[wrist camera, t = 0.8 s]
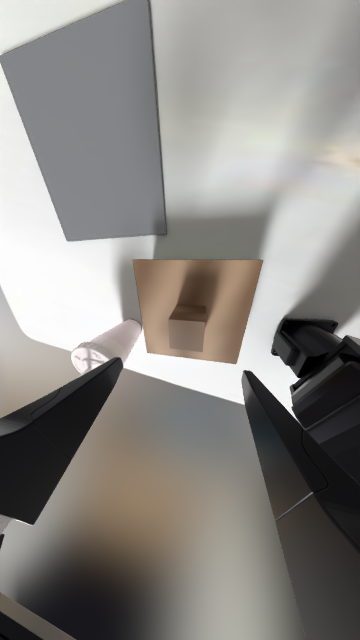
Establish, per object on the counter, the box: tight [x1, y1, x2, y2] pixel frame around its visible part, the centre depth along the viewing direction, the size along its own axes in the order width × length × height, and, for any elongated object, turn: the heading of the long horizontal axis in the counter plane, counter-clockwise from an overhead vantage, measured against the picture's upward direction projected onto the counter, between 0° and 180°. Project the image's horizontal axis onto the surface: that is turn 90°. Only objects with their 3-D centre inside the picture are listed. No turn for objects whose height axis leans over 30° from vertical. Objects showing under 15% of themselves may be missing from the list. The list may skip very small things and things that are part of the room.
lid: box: [133, 260, 263, 364], centre depth 15 cm, size 13×13×5 cm
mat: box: [0, 0, 166, 241], centre depth 15 cm, size 15×15×1 cm
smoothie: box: [71, 319, 142, 377], centre depth 19 cm, size 6×6×14 cm
